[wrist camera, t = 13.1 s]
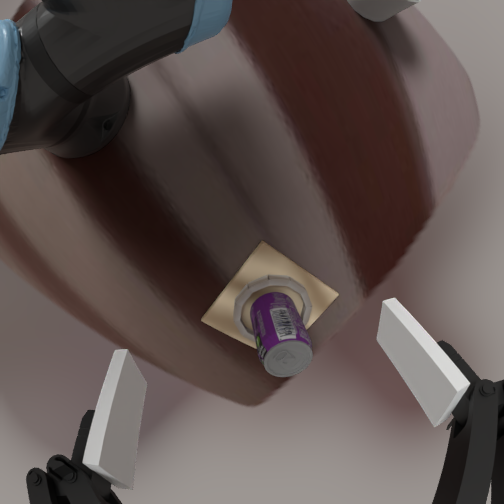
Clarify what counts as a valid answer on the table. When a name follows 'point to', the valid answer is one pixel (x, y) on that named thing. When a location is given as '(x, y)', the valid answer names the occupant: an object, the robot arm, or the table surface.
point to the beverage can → (280, 335)
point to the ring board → (265, 281)
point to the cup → (380, 8)
